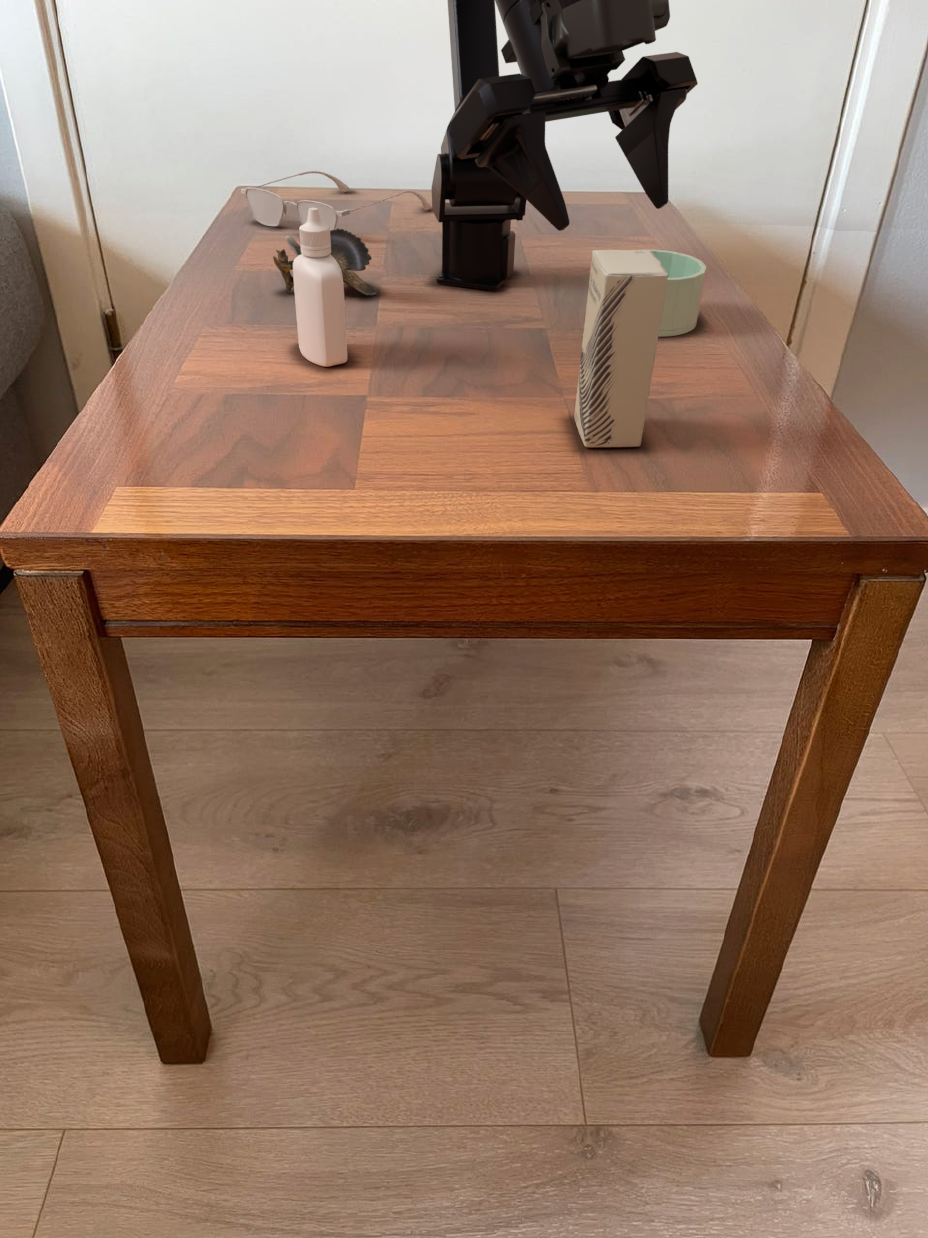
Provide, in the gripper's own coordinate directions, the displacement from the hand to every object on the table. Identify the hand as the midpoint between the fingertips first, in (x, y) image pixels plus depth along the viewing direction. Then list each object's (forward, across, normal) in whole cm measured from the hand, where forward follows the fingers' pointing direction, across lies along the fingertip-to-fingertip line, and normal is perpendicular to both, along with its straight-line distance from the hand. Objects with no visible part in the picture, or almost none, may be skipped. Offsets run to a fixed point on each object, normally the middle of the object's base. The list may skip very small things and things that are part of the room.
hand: (614, 216), depth 71 cm
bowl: (+5, +14, +16) cm, 22 cm away
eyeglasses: (-24, +4, +51) cm, 57 cm away
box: (+15, -5, +3) cm, 16 cm away
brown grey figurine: (-9, -10, +32) cm, 35 cm away
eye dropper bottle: (-1, -17, +22) cm, 27 cm away
